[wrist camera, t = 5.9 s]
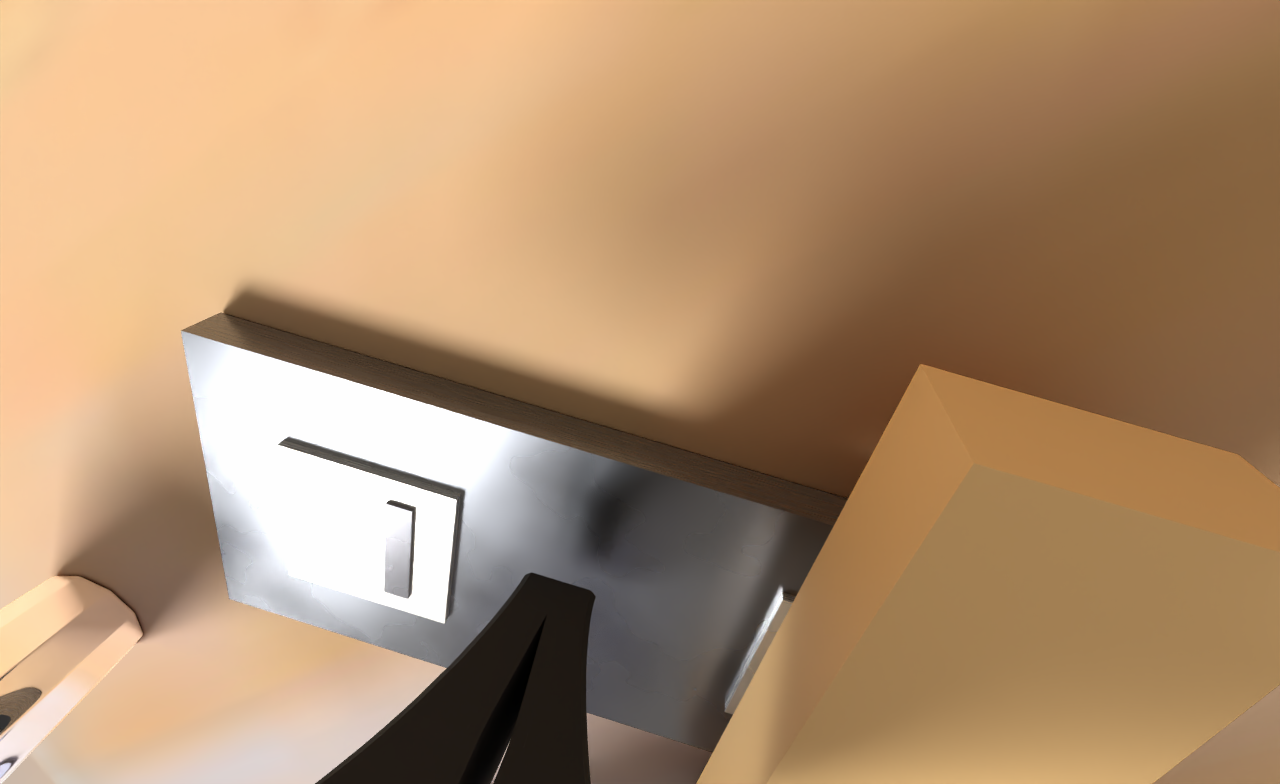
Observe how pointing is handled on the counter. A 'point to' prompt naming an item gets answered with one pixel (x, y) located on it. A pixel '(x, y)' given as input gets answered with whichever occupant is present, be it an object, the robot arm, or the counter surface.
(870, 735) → the light wooden plank
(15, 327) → the counter surface
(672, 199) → the counter surface
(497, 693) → the robot arm
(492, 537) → the panel
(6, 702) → the milkshake
